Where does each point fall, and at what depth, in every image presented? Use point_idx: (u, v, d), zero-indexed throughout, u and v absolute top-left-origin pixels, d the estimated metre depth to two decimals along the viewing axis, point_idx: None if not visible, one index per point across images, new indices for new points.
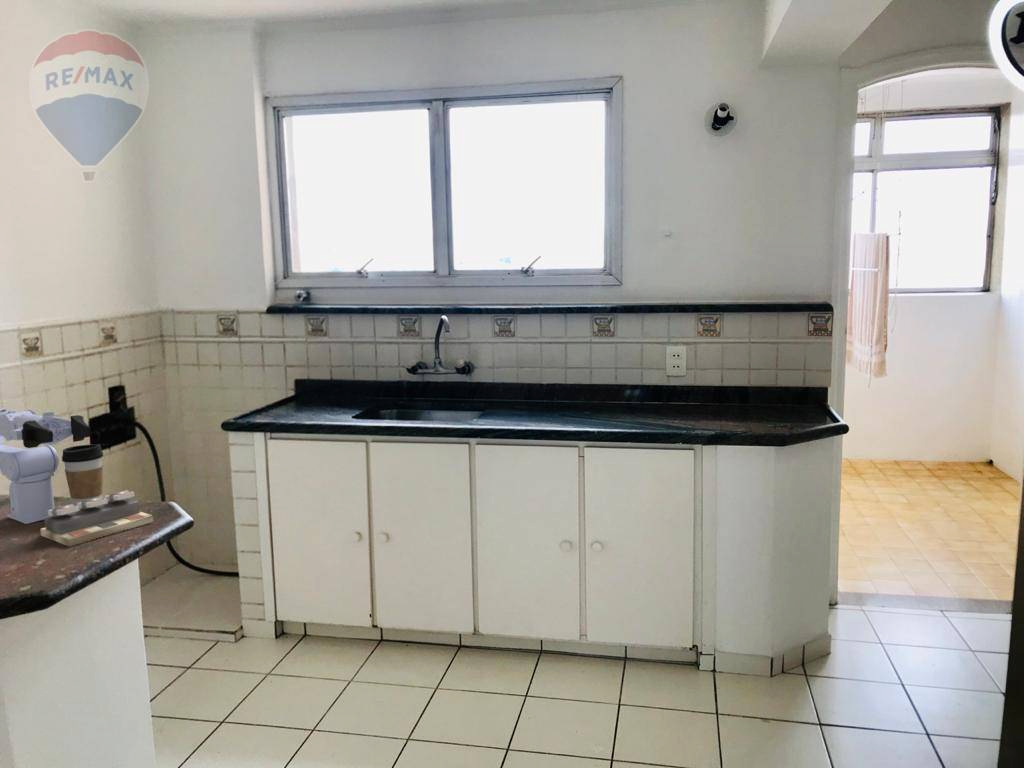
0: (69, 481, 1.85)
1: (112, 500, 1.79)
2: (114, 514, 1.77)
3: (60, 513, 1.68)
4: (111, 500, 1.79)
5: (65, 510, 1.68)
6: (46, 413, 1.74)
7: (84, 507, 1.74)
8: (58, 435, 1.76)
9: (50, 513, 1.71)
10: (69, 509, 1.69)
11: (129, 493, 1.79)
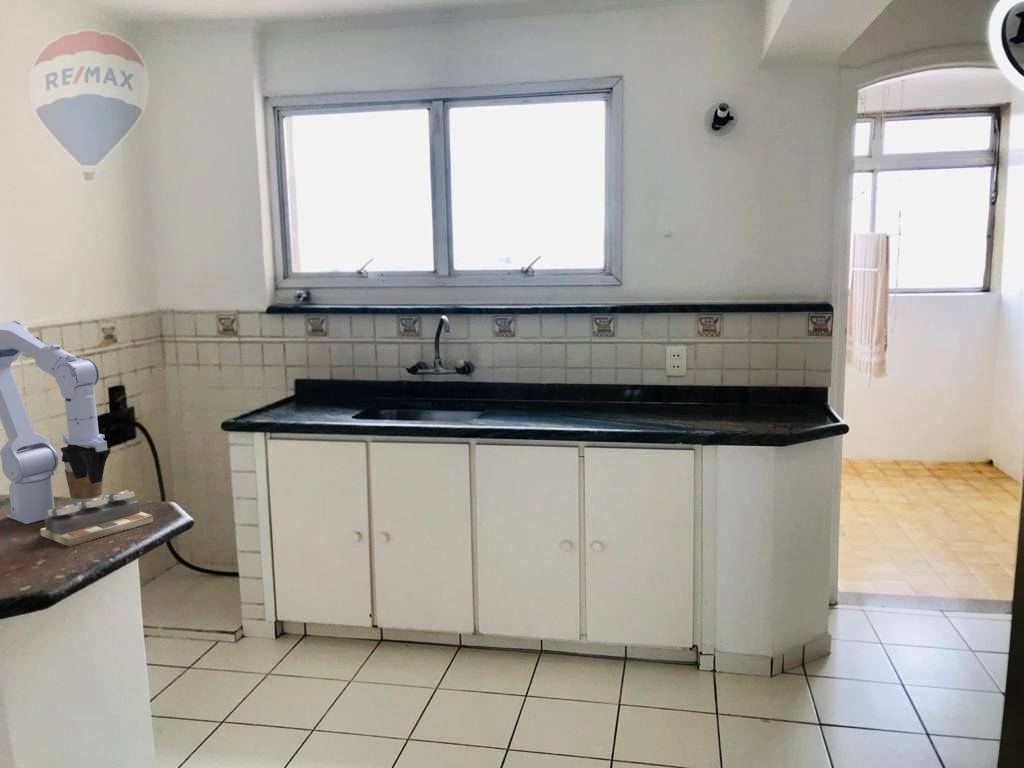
0: (69, 481, 1.85)
1: (112, 500, 1.79)
2: (114, 514, 1.77)
3: (60, 513, 1.68)
4: (111, 500, 1.79)
5: (65, 510, 1.68)
6: (103, 437, 1.77)
7: (84, 507, 1.74)
8: None
9: (50, 513, 1.71)
10: (69, 509, 1.69)
11: (129, 493, 1.79)
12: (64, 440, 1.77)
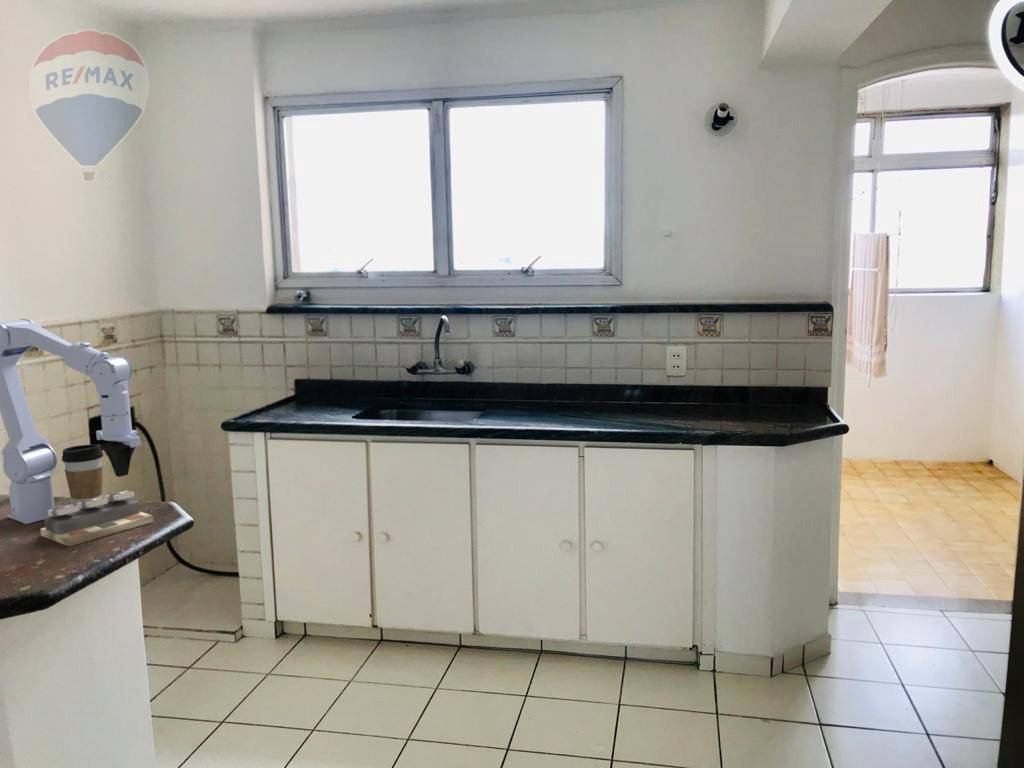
0: (69, 481, 1.85)
1: (112, 500, 1.79)
2: (114, 514, 1.77)
3: (60, 513, 1.68)
4: (111, 500, 1.79)
5: (65, 510, 1.68)
6: (135, 433, 1.80)
7: (84, 507, 1.74)
8: None
9: (50, 513, 1.71)
10: (69, 509, 1.69)
11: (129, 493, 1.79)
12: (97, 436, 1.80)
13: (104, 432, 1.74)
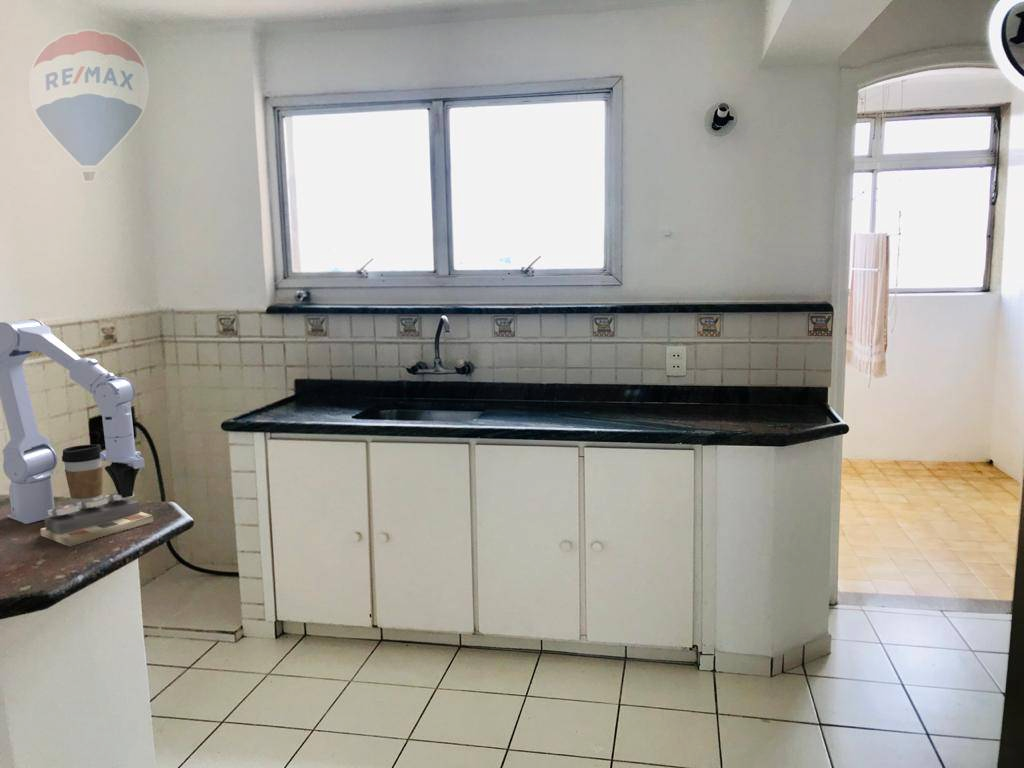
0: (69, 481, 1.85)
1: (112, 500, 1.79)
2: (114, 514, 1.77)
3: (60, 513, 1.68)
4: (111, 500, 1.79)
5: (65, 510, 1.68)
6: (139, 454, 1.80)
7: (84, 507, 1.74)
8: None
9: (50, 513, 1.71)
10: (69, 509, 1.69)
11: None
12: (101, 457, 1.81)
13: (108, 454, 1.75)
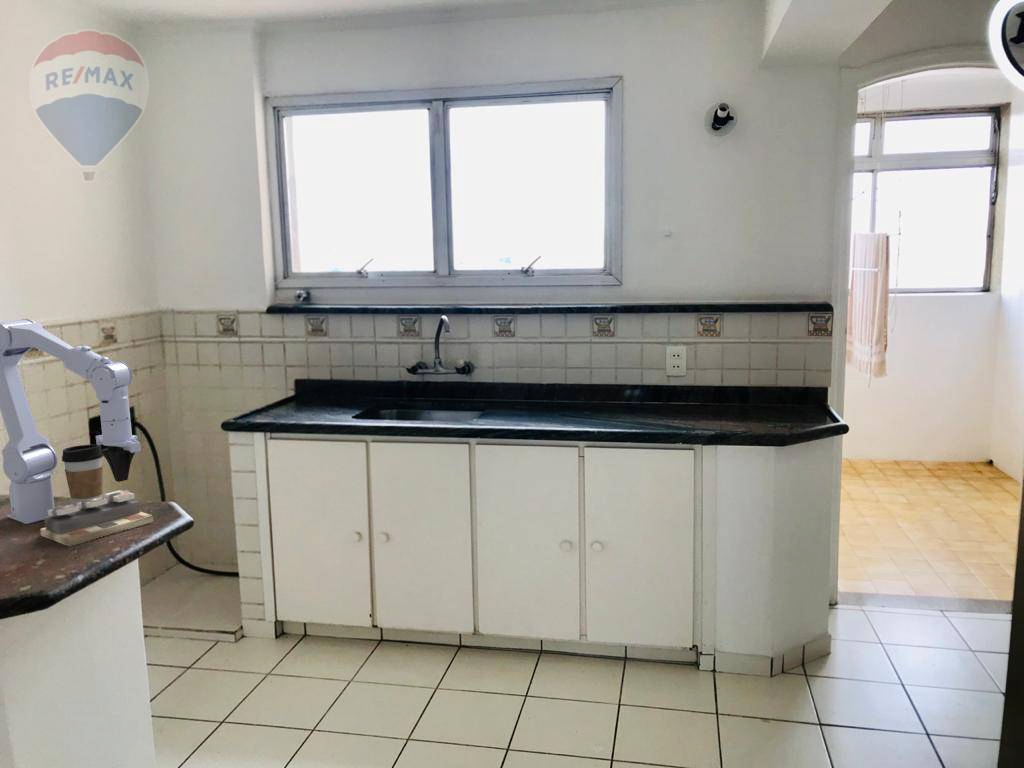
0: (69, 481, 1.85)
1: (112, 500, 1.79)
2: (114, 514, 1.77)
3: (60, 513, 1.68)
4: (111, 500, 1.79)
5: (65, 510, 1.68)
6: (135, 438, 1.80)
7: (84, 507, 1.74)
8: None
9: (50, 513, 1.71)
10: (69, 509, 1.69)
11: (129, 495, 1.79)
12: (97, 441, 1.80)
13: (104, 437, 1.74)
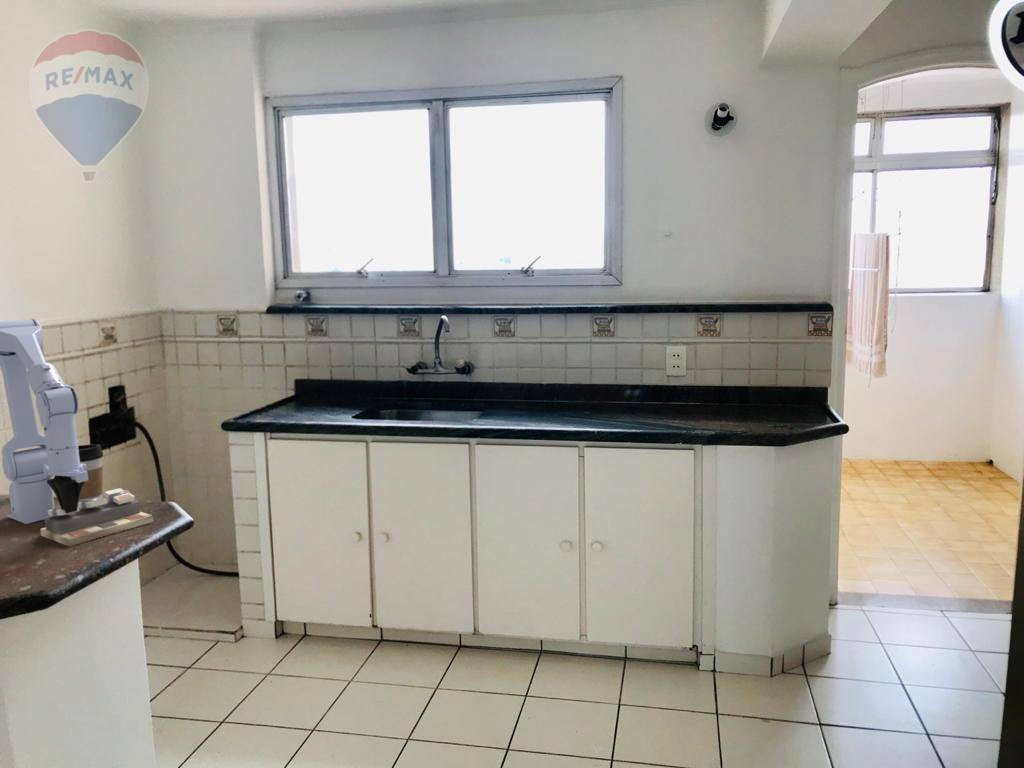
0: None
1: (112, 500, 1.79)
2: (114, 514, 1.77)
3: (60, 513, 1.68)
4: (111, 500, 1.79)
5: None
6: None
7: (84, 507, 1.74)
8: None
9: (50, 513, 1.71)
10: None
11: (130, 497, 1.80)
12: (44, 470, 1.71)
13: (49, 466, 1.66)
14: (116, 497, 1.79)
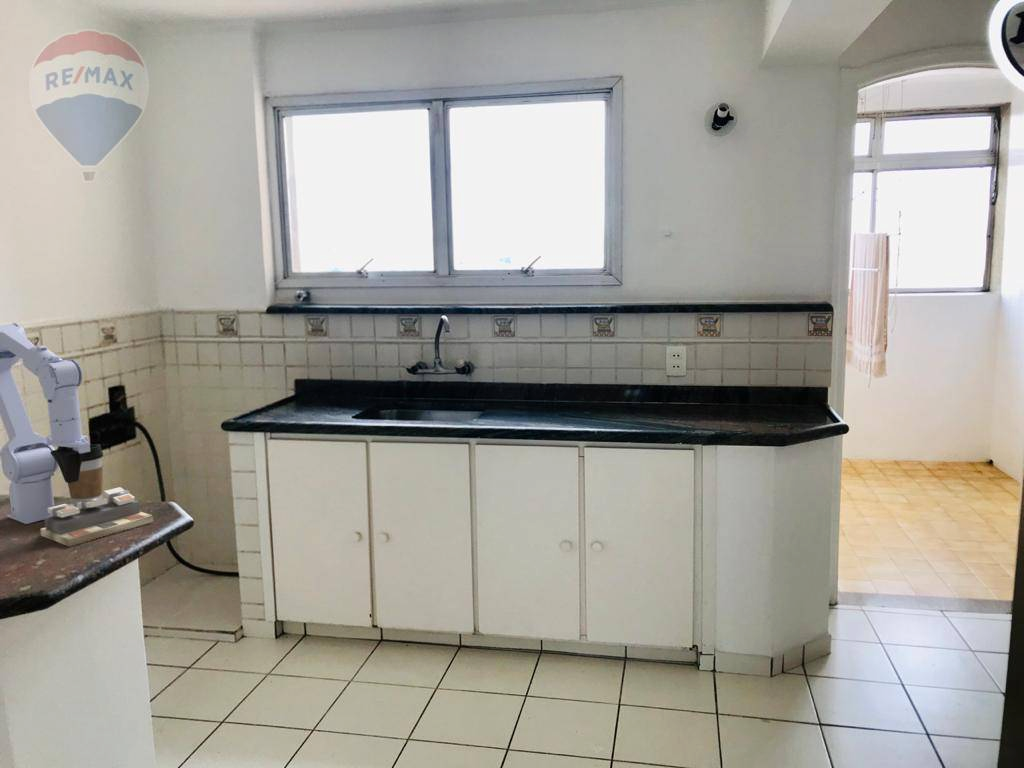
0: None
1: (112, 501, 1.79)
2: (114, 514, 1.77)
3: (60, 515, 1.68)
4: (111, 500, 1.79)
5: (65, 512, 1.68)
6: (86, 439, 1.76)
7: (84, 507, 1.74)
8: None
9: (50, 511, 1.71)
10: (69, 511, 1.69)
11: (130, 498, 1.80)
12: (47, 441, 1.76)
13: (53, 437, 1.71)
14: (116, 498, 1.79)
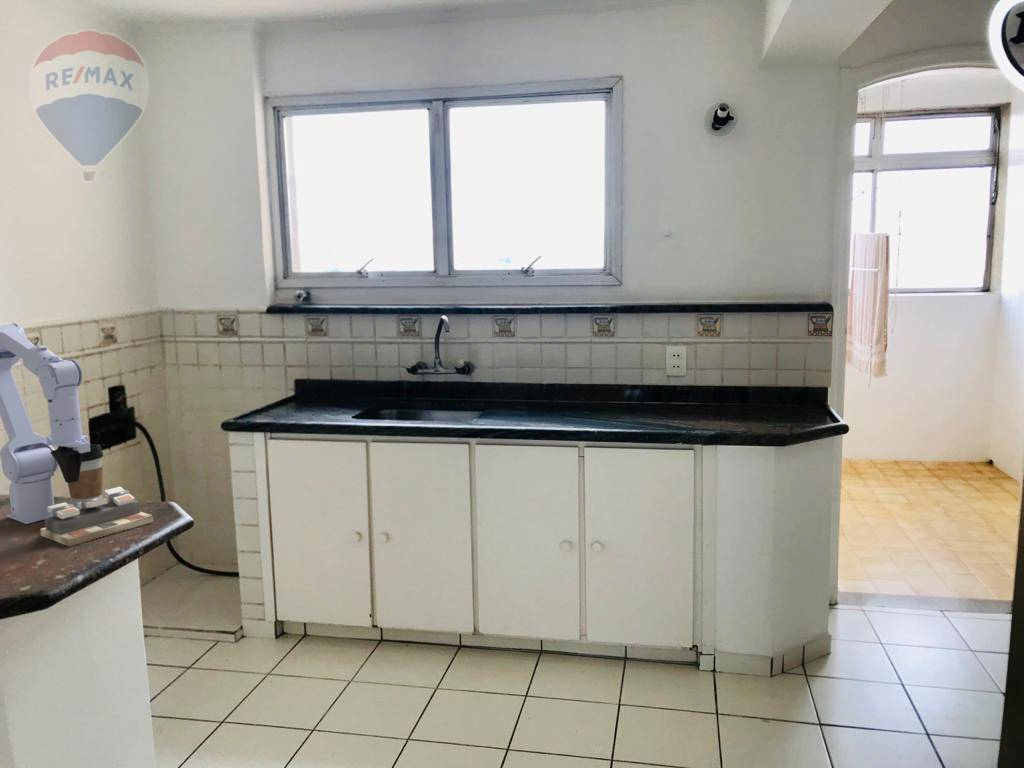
0: None
1: (112, 501, 1.79)
2: (114, 514, 1.77)
3: (60, 516, 1.68)
4: (110, 500, 1.79)
5: (66, 514, 1.69)
6: (86, 438, 1.76)
7: (84, 507, 1.74)
8: None
9: (50, 511, 1.71)
10: (70, 513, 1.69)
11: (130, 499, 1.80)
12: (47, 441, 1.76)
13: (53, 437, 1.71)
14: (116, 498, 1.79)
